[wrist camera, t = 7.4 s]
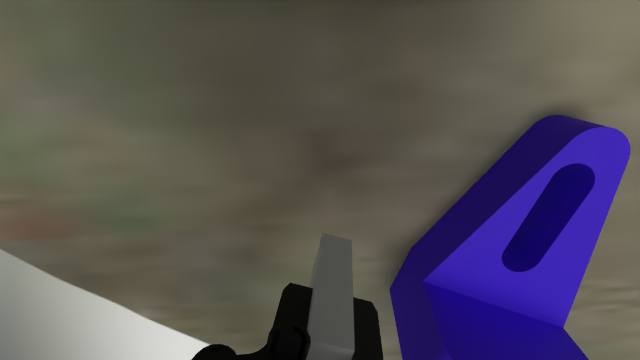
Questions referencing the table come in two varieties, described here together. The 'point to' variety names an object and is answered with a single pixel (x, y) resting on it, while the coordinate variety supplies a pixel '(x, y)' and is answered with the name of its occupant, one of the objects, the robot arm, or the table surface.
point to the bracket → (512, 250)
